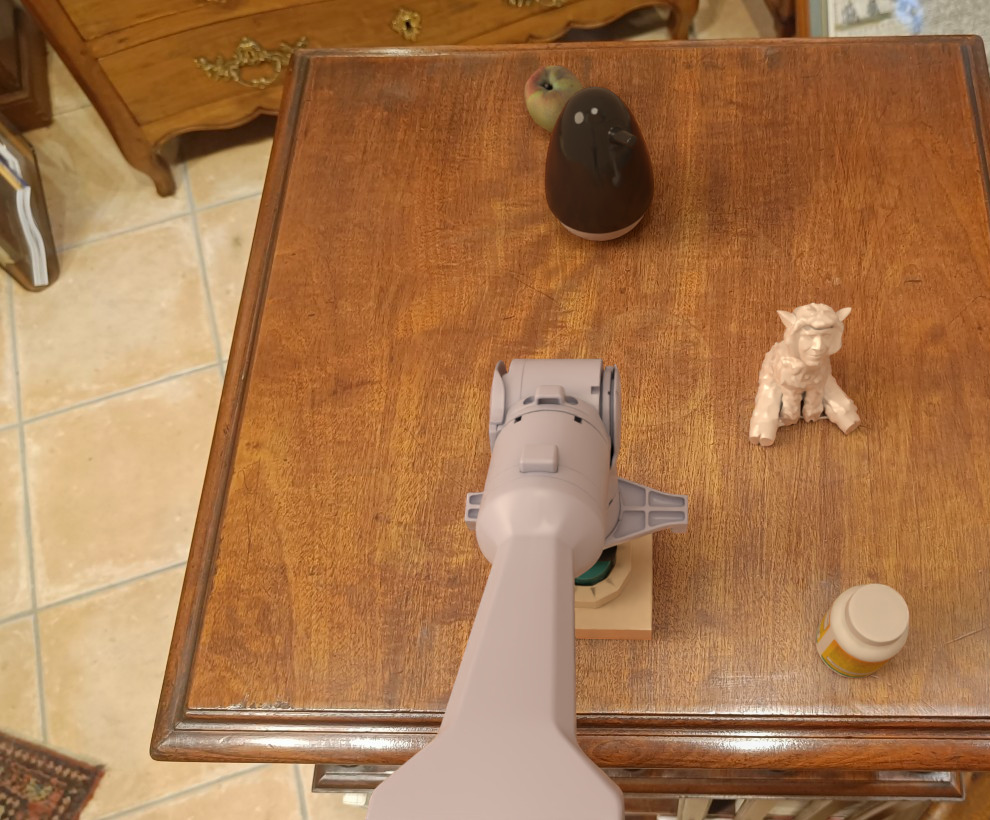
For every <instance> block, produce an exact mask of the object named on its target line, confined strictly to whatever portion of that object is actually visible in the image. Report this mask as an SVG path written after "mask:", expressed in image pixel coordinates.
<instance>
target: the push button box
mask: <svg viewBox="0 0 990 820" xmlns="http://www.w3.org/2000/svg"><path fill="white" fill-rule="evenodd" d="M653 534H654V533H652V534H649V535H646V536H643V537H640V538H637V539H634V540H631V541H628V542H625V543H622V544H619V545H617V552H616V555H615V557H614V559H613V561H612V567H611V569H610V572H609V573H608V575H607V576H606V577H605V578H604V579H603V580H602V581H600V582H599V583H596V584H594V585H589V586H582V585H577V584H575V640H625V641H628V640H629V641H652V640H653V537H654V536H653Z"/></svg>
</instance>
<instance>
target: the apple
mask: <svg viewBox="0 0 990 820" xmlns="http://www.w3.org/2000/svg"><path fill="white" fill-rule="evenodd" d="M584 88H585V87H584V86H583V84H582V82H581V81H580V79H579V77H578V76H577V75H576V74H575V73H574V72H573V71H571V70H570V69H569V68H567V67H565V66H563V65H560V64H556V65H555V64H554V65H553V64H552V65H550V64H549V65H542V66H541V67H538V69H536V70H535V71H534V72H533V73H532V74H531V75H530V76H529V78H528V79H527V80H526V82H525V85H524V91H523V95H524V101H525V106H526V109H527V112H528V113H529V115H530V117H531V119H532V121H533V122H534V123H535V124H536V125H537V126H539V127H541V128H542V129H544V130H545V131H547V132H548V133H550V134H552V131H553V128H554V125H555V123H556V120H557V118H558V116H559V114H560V112H561V110H562V108H563V107H564V105H565V104H566V102H567V101H568V100H569V99H570V98H571V97H572V96H573V95H574V94H575V93H576V92H578V91H580V90H582V89H584Z"/></svg>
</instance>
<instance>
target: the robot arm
mask: <svg viewBox="0 0 990 820" xmlns="http://www.w3.org/2000/svg"><path fill="white" fill-rule="evenodd" d="M493 371H494V372H493V377H492V384H491V388H490V396H489V423H488V425H489V426H488V438H489V445H490V446H489V447H490V453H491V457H490V460H489V461H490V462H489V465H488V470H487V475H486V479H485V484H484V488H483V491H476V492H467V493H466V499H465V508H464V509H465V510H464V519H463V520H464V522H465V524H466V526H467V529H468V530H469V531H471V532H472V531H475V537H476V541H477V545H478V548H479V550H480V552H481V554H482V555H483V557H484V558H485V559H486V560H487V562H489V564H490V565H491V568H490V571H489V574H488V577H487V580H486V583H485V586H484V589H483V593H482V597H481V599H480V602H479V606H478V609H477V612H476V615H475V618H474V621H473V624H472V627H471V630H470V634H469V637H468V640H467V642H466V646H465V648H464V652H463V655H462V658H461V662H460V664H459V667H458V671H457V674H456V677H455V679H454V682H453V686H452V690H451V693H450V695H449V699H448V702H447V706H446V708H445V711H444V714H443V717H442V720H441V723H440V727H439V728H438V729H439V730H438V731H437V734H436V735H435V737H434V738H433V739H432V740H431V741H430V742H428V743H427V744H426V745H425V746H424V747H423V748H421V749H420V750H419V751H417V753H415V754H414V755H413V756H411V757H410V758H409V759H408V760H407V761H405V762H404V763H403V764H402V765H401V766H400V767H398V768H397V769H396V770H394V772H392V773H391V774H389V776H387V778H385V779H384V780H382V781H381V782H380V783H379V784H378V785H377V786H376V787H375V788H374V789H373V791H372V793H371V795H370V796H369V801H368V805H367V810H366V815H365V818H364V820H626V813H625V812H626V810H625V808H626V807H625V798H624V792H623V791H622V789H621V788H620V786H619V785H618V784H617V783H616V782H615V781H614V780H613V779H611V777H609V775H607V773H605V772H604V771H603V770H602V768H600V767H599V766H598V765H597V763H595V762H594V760H592V759H591V758H590V757H589V756H588V755H587V754H586V753H585V752H584V751H583V749H582V748H581V746H580V745H579V743H578V733H577V732H578V730H577V727H578V726H577V725H578V724H577V723H578V721H577V659H576V658H577V657H576V656H577V655H576V652H577V651H576V639H575V578H577V577H579V576H580V575H582V574H583V573H585V572H586V571H588V570H589V569H590V568H591V567H592V566H593V565H594V564H595V563H596V562H597V561H600V562H604V561H611V560H613V559H614V557H615V555H616V552H617V545H619V544H622V543H625V542H628V541H631V540H634V539H637V538H640V537H643V536H646V535H649V534H652V533H653V534H654V533H658V532H662V531H664V530H670V532H671V533H673V534H688V528H689V496H688V494H680V493H679V494H678V493H677V494H676V493H670V492H666V491H662V490H659V489H656V488H653V487H650V486H647V485H644V484H641V483H639V482H636V481H633V480H631V479H627V478H624V477H621V476H619V475H618V459H619V456H620V452H621V447H622V445H621V444H622V378H621V375H620V371H619V368H618V366H617V364H616V363H614V364H613V365H606V366H604V360H603V358H512V360H511V362H510V364H509V368H508V370H507V367H506V363H505V362H504V360H502V359H499V360H498V361H497V363H496V364H495V369H494V370H493Z"/></svg>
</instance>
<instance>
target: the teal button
mask: <svg viewBox="0 0 990 820" xmlns="http://www.w3.org/2000/svg"><path fill="white" fill-rule="evenodd" d="M612 561H613V560H611V561H604V562H600V561H597V562H596V563H595V564H594V565H593V566H592V567H591V568H590V569H589V570H588V571H586V572H585V573H583V574H582V575H580V576H579V577H577V578H575V584H577V585H582V586H589V585H594V584H596V583H599V582H600V581H602V580H603V579H604V578H605V577H606V576H607V575H608V573H609V572H610V569H611V567H612Z"/></svg>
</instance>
